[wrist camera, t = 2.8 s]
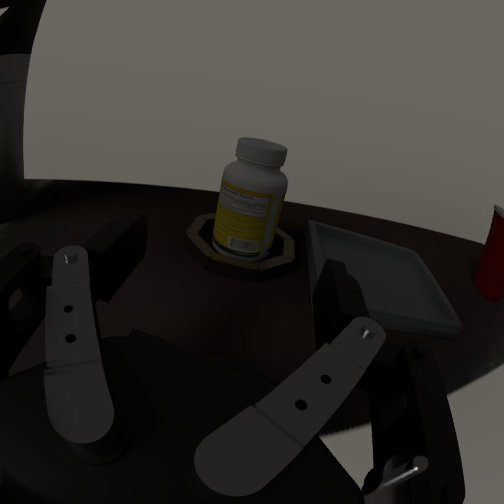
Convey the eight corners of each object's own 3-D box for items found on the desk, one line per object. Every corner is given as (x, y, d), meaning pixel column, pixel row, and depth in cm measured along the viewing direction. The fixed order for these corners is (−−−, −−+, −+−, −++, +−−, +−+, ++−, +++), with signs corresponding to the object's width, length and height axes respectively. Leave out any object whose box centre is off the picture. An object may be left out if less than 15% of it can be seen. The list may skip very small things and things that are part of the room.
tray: (312, 314, 20) (320, 298, 19) (304, 231, 32) (308, 219, 31) (454, 339, 20) (463, 326, 19) (410, 261, 32) (415, 251, 32)
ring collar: (172, 262, 22) (173, 249, 21) (203, 215, 30) (205, 205, 30) (290, 291, 22) (295, 279, 21) (290, 236, 30) (293, 226, 30)
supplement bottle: (244, 229, 29) (265, 137, 24) (280, 256, 26) (311, 154, 21) (199, 238, 26) (217, 133, 21) (234, 271, 23) (262, 151, 18)
